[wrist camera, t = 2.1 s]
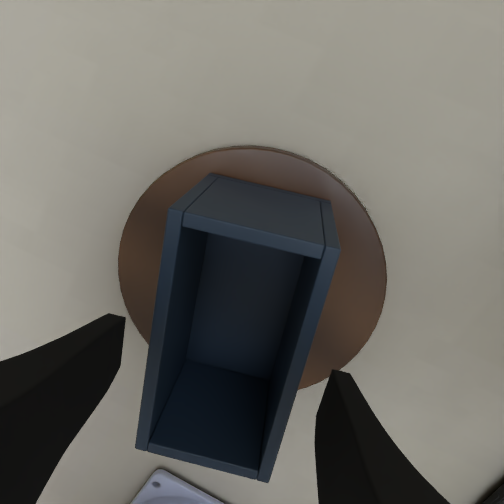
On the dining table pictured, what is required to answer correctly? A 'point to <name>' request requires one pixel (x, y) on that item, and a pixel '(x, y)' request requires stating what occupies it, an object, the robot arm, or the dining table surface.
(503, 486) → the phone
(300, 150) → the dining table surface
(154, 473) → the robot arm
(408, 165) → the dining table surface
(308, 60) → the dining table surface
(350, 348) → the disc
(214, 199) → the bin
